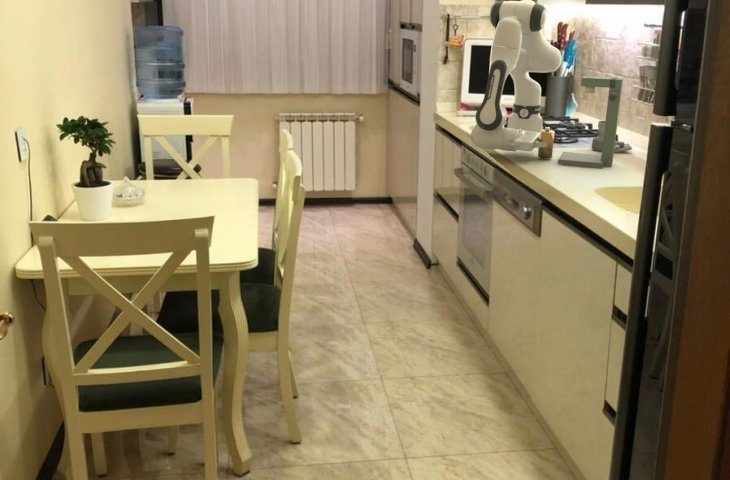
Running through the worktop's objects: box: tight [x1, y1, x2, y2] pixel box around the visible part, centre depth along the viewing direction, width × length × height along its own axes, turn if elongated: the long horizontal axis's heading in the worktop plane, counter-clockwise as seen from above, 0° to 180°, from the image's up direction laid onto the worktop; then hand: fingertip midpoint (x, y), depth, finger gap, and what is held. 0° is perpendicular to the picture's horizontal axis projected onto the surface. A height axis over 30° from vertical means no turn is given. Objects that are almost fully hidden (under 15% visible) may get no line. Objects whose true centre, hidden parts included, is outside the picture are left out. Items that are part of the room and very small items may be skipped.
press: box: [557, 75, 624, 169], centre depth 277 cm, size 20×19×32 cm
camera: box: [591, 120, 633, 154], centre depth 303 cm, size 9×12×15 cm
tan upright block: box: [537, 126, 555, 160], centre depth 288 cm, size 5×5×12 cm
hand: (548, 142), depth 288 cm, fingers closed on tan upright block, 5 cm apart
